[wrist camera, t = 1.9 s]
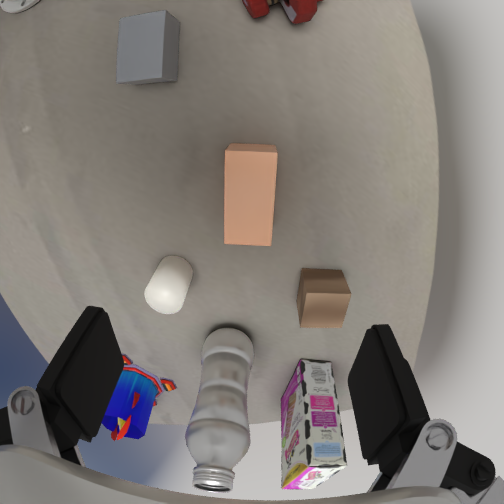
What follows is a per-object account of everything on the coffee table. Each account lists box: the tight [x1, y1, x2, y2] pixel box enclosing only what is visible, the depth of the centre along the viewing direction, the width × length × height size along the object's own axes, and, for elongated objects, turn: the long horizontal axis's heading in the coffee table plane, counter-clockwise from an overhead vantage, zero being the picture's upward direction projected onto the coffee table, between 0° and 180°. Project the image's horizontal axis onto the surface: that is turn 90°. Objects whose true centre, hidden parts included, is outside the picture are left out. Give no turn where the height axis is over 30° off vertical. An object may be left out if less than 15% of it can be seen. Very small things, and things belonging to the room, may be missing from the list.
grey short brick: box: [116, 10, 180, 85], centre depth 19 cm, size 6×4×4 cm, turn 178°
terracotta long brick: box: [224, 143, 278, 246], centre depth 25 cm, size 8×4×4 cm, turn 178°
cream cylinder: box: [145, 256, 193, 314], centre depth 30 cm, size 4×4×5 cm
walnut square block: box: [297, 268, 351, 328], centre depth 31 cm, size 4×4×4 cm
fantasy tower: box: [102, 354, 177, 441], centre depth 38 cm, size 12×12×12 cm
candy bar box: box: [281, 359, 347, 489], centre depth 34 cm, size 11×5×16 cm, turn 170°
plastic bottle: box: [185, 328, 254, 493], centre depth 28 cm, size 6×7×20 cm
